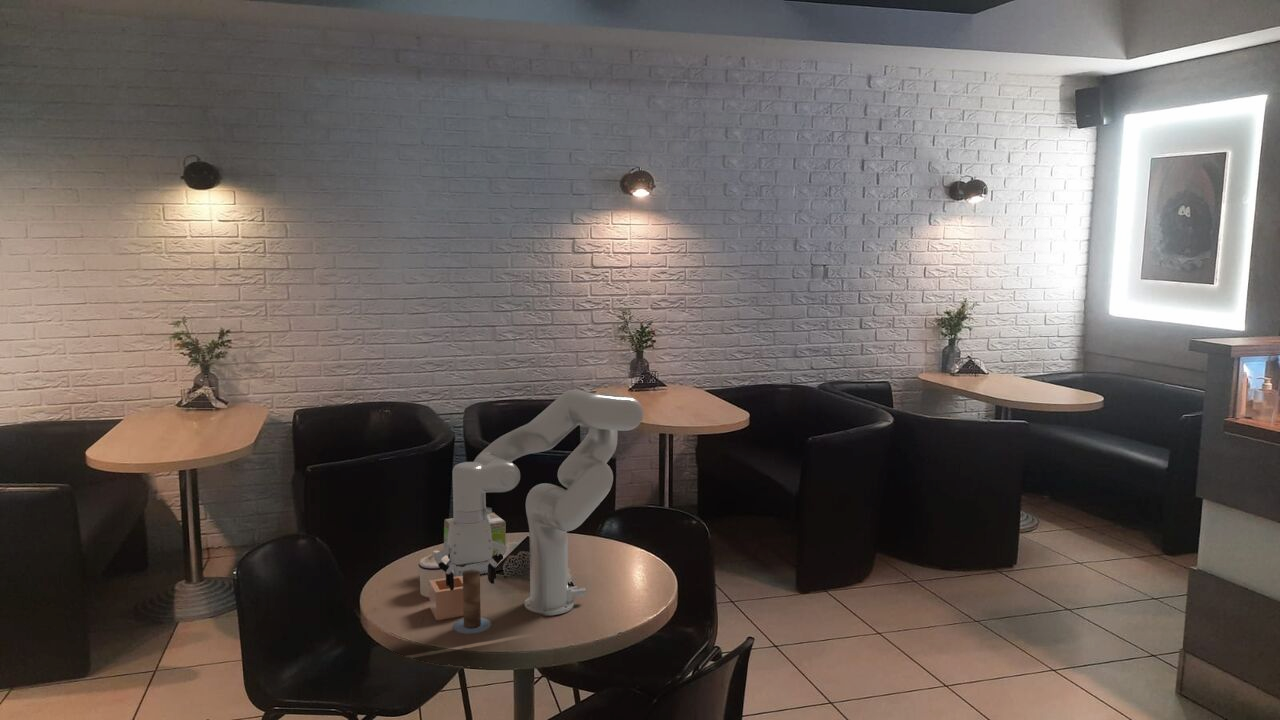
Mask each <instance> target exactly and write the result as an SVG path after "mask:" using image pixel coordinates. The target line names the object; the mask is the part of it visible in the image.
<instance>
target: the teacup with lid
mask: <svg viewBox="0 0 1280 720" xmlns="http://www.w3.org/2000/svg"><path fill="white" fill-rule="evenodd" d="M440 551H441V550H433V551H432V552H431V554H429V555H428V556H425V557H423V558H421V559H420V560H419V562H418V567H419V590H420V591H419V592H420V593H419V594H420V595H421V596H422V597H424V598H425V597H426V598H430V595H429V580H436V579H443V578H446V572H445V571H443V570H442V569H441V568H440V567H439V566H438V564H437V563H436V561H435V559H434V558H433V556H434V555H435V554H436V553H438V552H440ZM441 560H442V562H443V563H444V564H447V562H448V561H449V560H450V559H448V556H447V555H446V556H444V557H443V558H442V559H441ZM452 573H453V571H452Z"/></svg>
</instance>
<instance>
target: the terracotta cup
mask: <svg viewBox="0 0 1280 720" xmlns="http://www.w3.org/2000/svg"><path fill="white" fill-rule="evenodd" d="M429 595H430V597H429V609H430V610H431V613H432V614H433V616H434V618H435V620H436V621H442V620H447V619H452V618H458V617H464V612H463V576H456V577H454V589H453V590H450V588H449V586H447V585H446V578H443V579H436V580H429Z"/></svg>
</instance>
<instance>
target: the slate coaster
mask: <svg viewBox="0 0 1280 720" xmlns="http://www.w3.org/2000/svg"><path fill="white" fill-rule="evenodd" d="M491 626H492V622H491V620H489V619H487V618H484V617H481V625H480V626H479V627H478V628H474V629H468V628H465V627H464V618H462V619H459V620H458V621H456V622H454V623H453V625H452V629H453V631H456V632H457V633H460V634H478V633H482V632H484V631H486V630H488V629H490V628H491Z"/></svg>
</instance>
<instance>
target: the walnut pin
mask: <svg viewBox="0 0 1280 720" xmlns="http://www.w3.org/2000/svg"><path fill="white" fill-rule="evenodd" d="M481 610H482V609H481V574H480V572H479V571H478V570H467V571H464V572H463V612H464V616H463V619H464V627H465V628H468V629H474V628H478V627H479V626H480V625H481V618H482V617H481V615H482V613H481Z"/></svg>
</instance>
